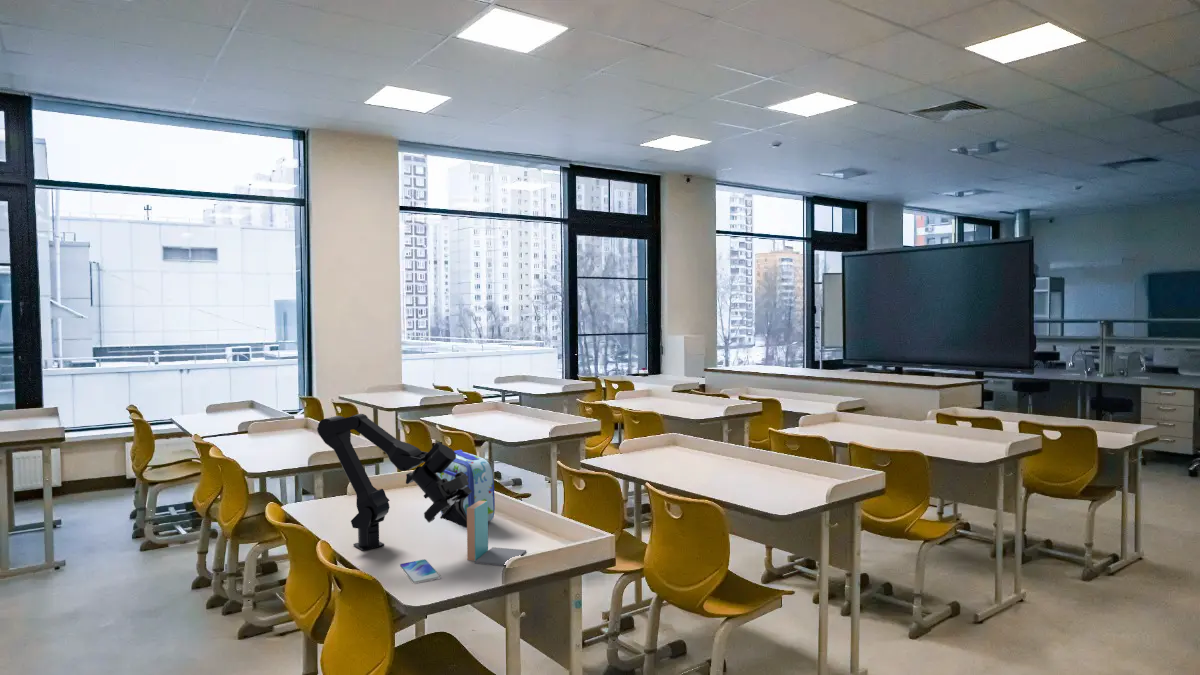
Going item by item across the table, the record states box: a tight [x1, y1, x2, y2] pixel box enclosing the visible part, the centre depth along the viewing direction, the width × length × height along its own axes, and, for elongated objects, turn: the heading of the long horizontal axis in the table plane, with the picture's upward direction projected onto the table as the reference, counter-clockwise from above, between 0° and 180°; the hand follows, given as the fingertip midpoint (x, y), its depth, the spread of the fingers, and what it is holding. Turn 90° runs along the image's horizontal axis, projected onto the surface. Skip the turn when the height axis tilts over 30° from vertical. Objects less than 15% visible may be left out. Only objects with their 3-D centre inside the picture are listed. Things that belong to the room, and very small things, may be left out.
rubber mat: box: [474, 546, 527, 567], centre depth 199 cm, size 10×12×1 cm
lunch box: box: [436, 449, 496, 522], centre depth 237 cm, size 26×11×21 cm, turn 35°
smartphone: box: [398, 559, 442, 584], centre depth 189 cm, size 7×1×15 cm
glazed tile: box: [466, 501, 489, 562], centre depth 201 cm, size 2×8×14 cm, turn 165°
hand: (469, 526), depth 201 cm, fingers closed
